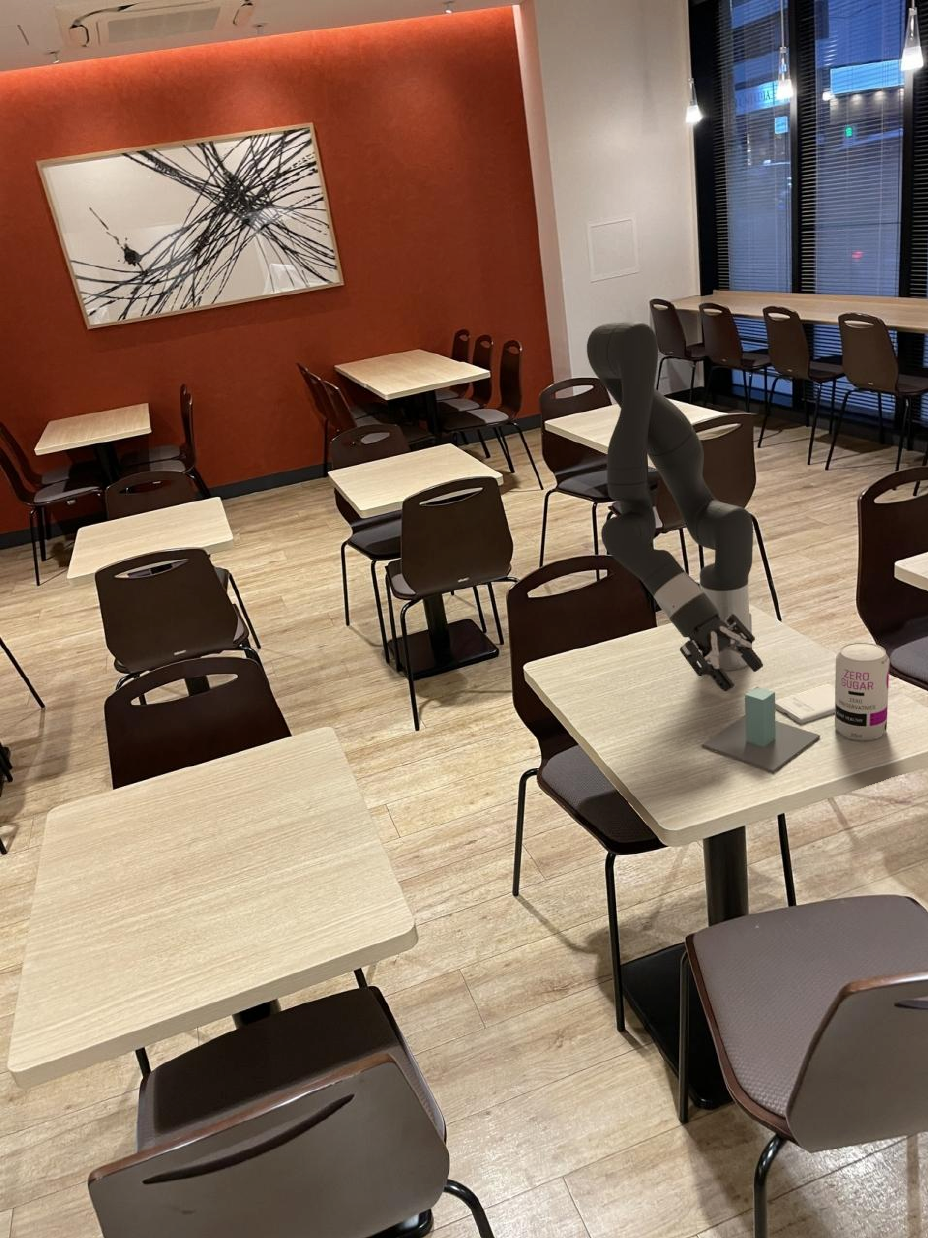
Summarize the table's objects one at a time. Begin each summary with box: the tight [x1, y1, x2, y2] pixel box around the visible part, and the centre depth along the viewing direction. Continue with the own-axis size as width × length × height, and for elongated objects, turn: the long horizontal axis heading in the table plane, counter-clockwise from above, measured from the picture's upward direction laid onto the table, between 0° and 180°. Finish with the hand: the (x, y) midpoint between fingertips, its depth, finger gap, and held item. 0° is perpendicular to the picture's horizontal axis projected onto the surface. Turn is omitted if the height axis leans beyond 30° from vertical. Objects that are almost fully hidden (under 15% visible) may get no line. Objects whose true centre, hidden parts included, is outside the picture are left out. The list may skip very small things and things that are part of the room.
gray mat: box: [701, 714, 821, 774], centre depth 162 cm, size 14×14×1 cm
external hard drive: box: [775, 683, 835, 725], centre depth 171 cm, size 2×8×12 cm
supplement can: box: [834, 642, 890, 742], centre depth 158 cm, size 8×8×15 cm
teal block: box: [744, 686, 776, 747], centre depth 160 cm, size 4×4×9 cm
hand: (744, 678), depth 160 cm, fingers open, 8 cm apart
